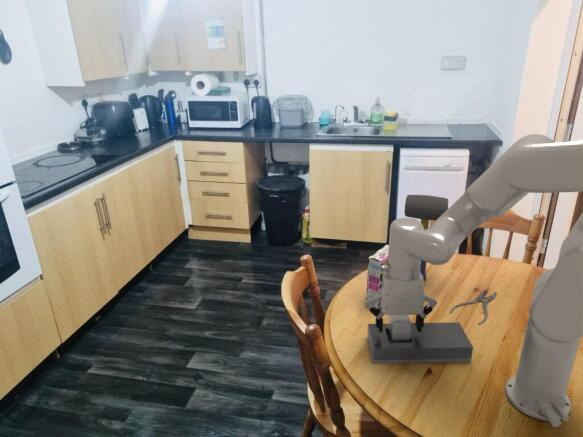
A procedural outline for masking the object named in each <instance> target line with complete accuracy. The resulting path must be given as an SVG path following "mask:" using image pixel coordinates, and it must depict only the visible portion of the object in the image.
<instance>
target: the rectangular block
mask: <svg viewBox="0 0 583 437" xmlns="http://www.w3.org/2000/svg"><path fill="white" fill-rule="evenodd" d="M415 323H416V322H411V331H410V342H409V343H389V340H388V328H389V323H383V330H382V333H379V329H378V328H376V324H375V323H368V324H367V336H366V337H367V342H368V346H369V347H368V348H369V350H370V351H369V352H370V354H371V359H372V363H373V364H416V363H417V364H420V363H423V364H424V363H425V364H426V363H429V364H430V363H433V364H434V363H435V364H437V363H471V362H472V357H473V351H474V346H473V344H472V342H471V340H470V339H469V337H468V336H467V333H466V332H465V330H464V328H463V326H462V325H461V323H460V322H459V321H457V322H455V321H453V322H424V326H423V327H422V329H421V332H419V331H418V330H417V328H416V325H415Z"/></svg>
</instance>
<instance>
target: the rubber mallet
mask: <svg viewBox="0 0 583 437" xmlns="http://www.w3.org/2000/svg"><path fill="white" fill-rule="evenodd" d="M448 209H449V199H448V198H447V197H440V196H435V195H428V194H427V195H426V194H424V195H423V194H407V196H406V198H405V204H404V216H405V218H412V219H416V220H420V222H421V223H422V225H423V227H424V230H426V229H429V228H430V227H429V226H430V224H429V223H430V221H436V220H437V219H438V218H439V217H440V216H441V215H442V214H443V213H444V212H446V211H447V210H448ZM426 271H427V262H425V261H423V260H421V266H420V273H421V274H422V275H423V279H424V283H425V281H426V280H427V273H426Z"/></svg>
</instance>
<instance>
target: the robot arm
mask: <svg viewBox="0 0 583 437" xmlns="http://www.w3.org/2000/svg"><path fill="white" fill-rule="evenodd" d="M580 192H581V193H583V139H577V140H570V141H557V142H555V141H554V140H553V139H552V138H551V137H548V136H546V135H544V134H540V133H533V134H532V133H530V134H527V135H525V136H523V137H521V138H519V139H518V140H517V141H515V142H514V143H513V144H512V145H511V146H510V147H508V149H506V151H504V152H503V154H502V155H500V156H499V157H498V158H497V159H496V160H495V161H494V162H493V163H492V164H491V165H490V166H489V167H488V168H487V169H486V170H484V172H482V173H481V175H480V176H479V177H478V178H477V179H475V181H473V182H472V184H470V185H469V186H468V188H466V190H465V192H464V193H463V194H462V195H461V196H460V197H458V199H457V200H456V201H454V202H453V204H451V206H450V207H448V210H447V211H446V212H444V213H443V214H442V215H441V216H440V217H439V218H438V219H437V220H434V222H433V223H432V224H431V225H430V227H429V228H428V229H426V230H424V227H423V225H422V223H421V221H419V219H416V218H411V217H400V218H397V219H394V220H393V221H391V224H390V226H389V240H388V241H389V242H388V245H389V252H388V261H387V263H386V265H382V266H381V269H382V271H385V273H384V276H383V280H382V285H381V291H380V294H378V295H376V296H374V297H372V298H369V299H367V300H366V299H365V306H367V309H368V310H369V312H370V313H371V314H372V315H373V316H374V317H375V323H374V324H376V328H378V329H379V333H382V330H383V324H384V316H385V315H386V316H389V315H408V316H411V315H412V316H415V322H414V323H415V325H416V328H417V330H418V331H419V332H421V329H422V327H423V326H424V323H425V319H426V318H427V316H428V315H429V314H430V313H432V312H433V311H434V308H435V307H436V305H438V301H437V299H436V298H434V296H433V297H432V296H430V295H427V293H425V282H424V279H423V275H422V274H421V273H420V266H421V260H423V261H425V262H426V263H428V264H429V265H430V264H431V265H434V266H442V265H445V264H446V263H449V261H451V259H452V258H453V256H454V255H455V253H456V252H457V250H458V249H459V247H460V246H461V244H462V243H463V241H464V240H466V238H468V236H470V235H471V234H472V233H473V232H474V231H476V229H478V228H479V227H480V226H481V225H483V224H484V223H485V222H487V221H488V220H491V219H492V218H501V216H504V215H505V214H506V213H508V211H510V210H511V209H512V208H513V207H514V206H515V205H517V204H518V203H519V202H520V201H521V200H522V199H523V198H524V197H526V196H527V195H528V194H529V193H530V194H552V193H554V194H555V193H558V194H559V193H580ZM377 302H380V305H379V306H378V307H377V308H375V307H374V306H373V304H375V303H377ZM425 302H426V303H427V304H426V305H425ZM528 313H529V315H528V320H527V324H526V327H525V328H526V330H525V333H524V337H523V342H522V347H521V351H520V356H519V359H518V366H517V371H516V375H514V376H512V377H510V378H509V379H508V380H507V382H506V383H505V389H504V392H505V395H506V397H507V399H508V400H509V402H510V403H511V405H512V406H514V407H515V408H516V409H517V410H518V411H520V412H521V413H523V414H525V415H527V416H529V417H531V418H534V419H536V420H541V421H545V422H549V424H550V425H551V426H552V427H554V428H558V427H560V426H561V425H562V421H563V422H568V421H569V420H570V416H569V415H570V412H571V408H572V404H571V399H570V398H569V396H568V394H567V389H568V388H569V387H568V386H569V382H570V379H571V375H572V372H573V368H574V364H575V360H576V357H577V354H578V353H577V352H578V350H579V346H580V344H581V340H582V338H583V211H582V213H581V214H580V215H579V217H578V219H577V221H576V222H575V224H574V225H573V226H572V228H571V230H570V231H569V233H568V234H567V235H566V237H565V238H564V240H563V241H562V244H561V247H560V250H559V254H558V259H557V262H556V264H555V266H554V267H553V268H550V269H547V270H546V271H544V272H543V273H542V274H540V275H539V277H538V279H537V280H536V281H535V285H534V288H533V291H532V297H531V302H530V307H529V312H528Z"/></svg>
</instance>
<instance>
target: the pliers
mask: <svg viewBox="0 0 583 437" xmlns="http://www.w3.org/2000/svg"><path fill="white" fill-rule="evenodd" d="M488 290H489V288H485V289H484V290H483V291H481V292H480V293H479V294H478V296H477V297H476V298H475V299H474V300H470V301H466V302H461V303H458V304H456V305H455V306H453V307H452V308H451V309H450V310H449V313H450V314H452V313H453V312H454V311H455V310H456V309H458V308H459V307H463V306H467V305H475V304H478V303H480V302H481V303H482V304H481V305H482V306H481V307H482V309H483V313H484V317H483V319H482V320H481V321H480V322H478V323H477V324H478V325H477V326H481V325H483V324H484V323H485V322H486V321H487V319H488V316H489V314H488V309H487V305H488V304H489V302H492V301H493V300H495V299H496V296H497V293H498V292H497V291H495V292H493V293H492V294H490V295H489V296H486V295H487V293H488Z"/></svg>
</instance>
